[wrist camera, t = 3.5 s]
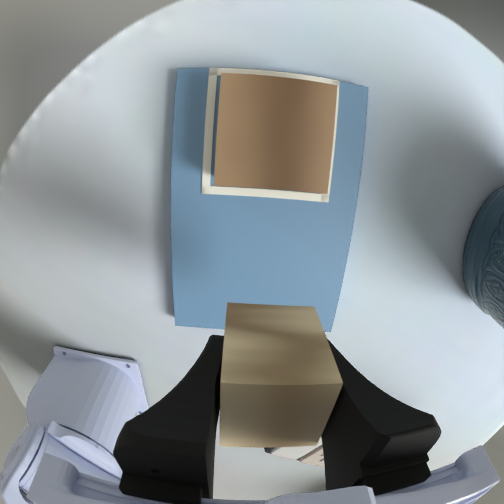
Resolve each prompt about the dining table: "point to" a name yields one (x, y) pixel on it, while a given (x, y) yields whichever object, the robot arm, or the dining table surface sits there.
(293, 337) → the maple block
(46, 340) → the dining table surface
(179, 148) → the board
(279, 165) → the walnut base
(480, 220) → the canister
